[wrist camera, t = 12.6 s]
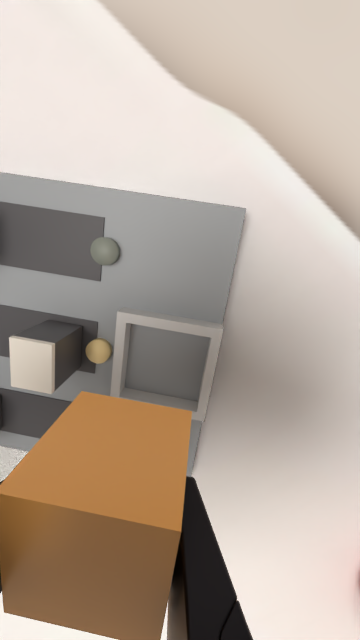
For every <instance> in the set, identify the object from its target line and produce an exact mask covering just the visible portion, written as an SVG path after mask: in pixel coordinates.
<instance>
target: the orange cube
mask: <svg viewBox="0 0 360 640" xmlns="http://www.w3.org/2000/svg"><path fill="white" fill-rule="evenodd" d="M191 418H192V411H188V410H183V409H177V408H172V407H166V406H161V405H155V404H150V403H144V402H139V401H134V400H128V399H123V398H117V397H112V396H106V395H101V394H95V393H90V392H84V391H81V392H80V394H79V395H78V396H77V397H76V398H75V399H74V401H73V402H72V403H71V404H70V405H69V406H68V407H67V409H66V410H65V411H64V412H63V413H62V414H61V415H60V417H59V418H58V419H57V420H56V421H55V422H54V424H53V425H52V426H51V427H50V428H49V429H48V430H47V432H46V433H45V434H44V435H43V436H42V437H41V438H40V440H39V441H38V442H37V443H36V444H35V445H34V447H33V448H32V449H31V450H30V451H29V452H28V453H27V455H26V456H25V457H24V458H23V459H22V460H21V462H20V463H19V464H18V465H17V466H16V467H15V468H14V470H13V471H12V472H11V473H10V474H9V475H8V476H7V478H6V479H5V480H4V481H3V482H2V483H1V485H0V572H1V583H2V595H3V607H4V612H5V613H9V614H13V615H17V616H22V617H26V618H30V619H34V620H38V621H43V622H47V623H51V624H55V625H59V626H64V627H68V628H72V629H76V630H81V631H85V632H89V633H93V634H97V635H102V636H106V637H110V638H114V639H118V640H160V638H161V633H162V628H163V623H164V618H165V613H166V607H167V602H168V597H169V592H170V587H171V582H172V576H173V571H174V566H175V561H176V556H177V551H178V545H179V540H180V535H181V528H182V517H183V506H184V495H185V484H186V473H187V462H188V451H189V440H190V429H191Z"/></svg>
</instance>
